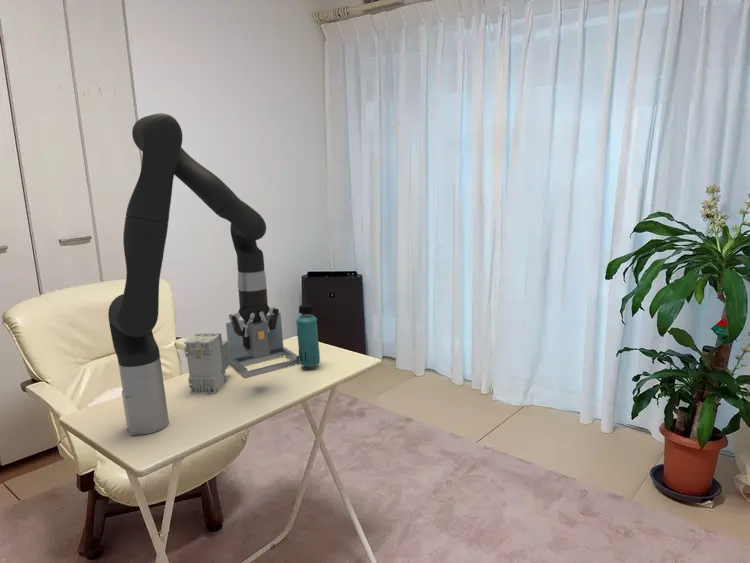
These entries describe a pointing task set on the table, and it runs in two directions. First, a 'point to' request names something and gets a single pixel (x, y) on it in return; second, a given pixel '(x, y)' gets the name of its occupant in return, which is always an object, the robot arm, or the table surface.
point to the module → (258, 339)
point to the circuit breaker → (207, 362)
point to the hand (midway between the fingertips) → (256, 346)
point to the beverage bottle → (307, 337)
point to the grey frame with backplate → (242, 358)
